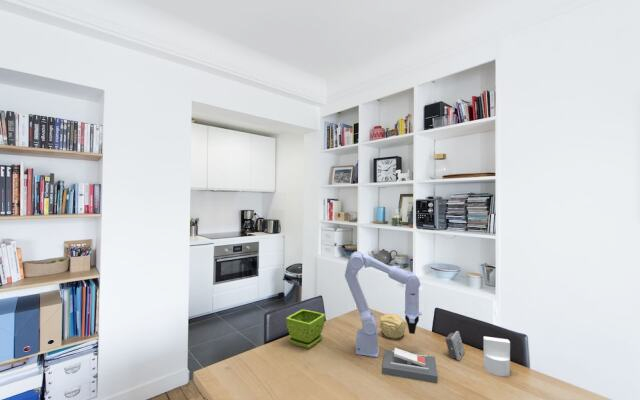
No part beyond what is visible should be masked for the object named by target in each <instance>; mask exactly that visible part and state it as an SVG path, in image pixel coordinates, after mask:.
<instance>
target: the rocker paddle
mask: <svg viewBox="0 0 640 400" xmlns="http://www.w3.org/2000/svg"><path fill="white" fill-rule="evenodd" d="M393 351H394V356H396V357H398V358H401V359H404V360H411V362H412V363H415V364H418V365H420V366H423V367H425V358H423V357H421V356H418V355H415V354H416V353H412V352H411V353H410V351H406V350H403V349H400V348H397V347H394V350H393Z"/></svg>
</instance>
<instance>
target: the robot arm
mask: <svg viewBox="0 0 640 400" xmlns="http://www.w3.org/2000/svg"><path fill="white" fill-rule="evenodd" d="M363 267H364V268H365V269H366V268H373V269H376V270H379V271H381V272H383V273H385V274H387V275H388V277H389V279H392V280H393V281H396V282H398V283H400V284H402V285H405V290H404V296H405V297H404V314H405V316H404V321H405V322H406V324H407V327H408V332H409V334H411V335H412V334H413V335H415V333H416V330H417V329H416V328H417V325H418V323H419V320H420V318H419V316H422V315H423V313H422V311H420V309H419V308H420V292H419V291H420V289H419V288H420V287H421V281H420V279H419V278H418V276H417V275H416V274H415V273H414V272H412V271H410V270H408V271H407V270H405V269H403V268H401V266H400V265H391V266H390V265H387V264H386V263H384V262H382V261H380V260H378V259H376V258H374V257H373V256H370V255H368V254H365V253H362V252H360V251H354V252H352V253H351V254H350V255H349V257H348V259H347V263H346V268H345V271H344V272H345V273H344V277H345V280H346V283H347V285H348V288H349V291H350V293H351V296H352V298H353V300H354V303H355V305H356V308H357V310H358V313H359V317H360V320H361V323H362V328H361V329H357V330H356V336H355V354H356V355H361V356H366V357H372V358H378V357H379V352H380V347H379V345H378V344H379V342H378V341H379V340H378V339H379V335H378V334H379V333H378V332H379V331H378V324H377V318H376V315H374V313H372V311H371V309H370V307H369V305H368V303H367V299H366V298H365V294H364V292H363V289H362V288H361V285H360V281H359V280H358V278H357V274H358V272H359V271H360V270H361V269H363Z"/></svg>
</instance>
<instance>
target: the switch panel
mask: <svg viewBox="0 0 640 400" xmlns="http://www.w3.org/2000/svg"><path fill="white" fill-rule="evenodd" d="M409 352H410V351H409ZM410 353H412V351H411V352H410ZM414 354H415V355H418V356H421V357H423V358H425V367H423V366H420V365H418V364H415V363H412V362H411V360H404V359H401V358H398V357H396V356H394V350H391V349H385V350H384V355H383V360H382V367H381V368H382V370H381V371H382V372H381V374H382V375H387V376H388V375H389V376H394V377H398V378H399V377H400V378H406V379H411V380H419V381H422V382H423V381H424V382H428V383H429V382H430V383H436V384H438V381H439V380H438V371H437V370H438V369H437V365H436V363H437V361H436V357H435V356H432V355H424V354H417V353H414Z"/></svg>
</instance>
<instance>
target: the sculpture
mask: <svg viewBox="0 0 640 400" xmlns="http://www.w3.org/2000/svg"><path fill="white" fill-rule="evenodd" d="M379 327H380V328H381V331H382V333H383V334H384V335H385V336H386V338H390V339H394V340H395V339H396V340H397V339H400V338H402V337H403V335H404V334H405V332H406V324H405V319H403V317H401V316H400V315H398V314H396V313H386V314H383V315H381V316H380V320H379Z"/></svg>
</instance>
